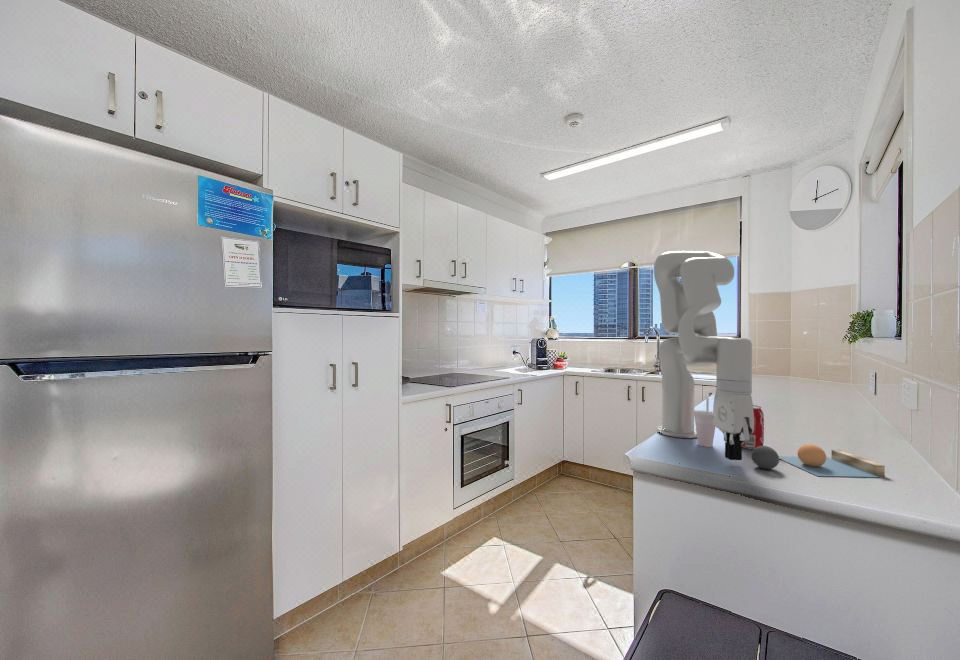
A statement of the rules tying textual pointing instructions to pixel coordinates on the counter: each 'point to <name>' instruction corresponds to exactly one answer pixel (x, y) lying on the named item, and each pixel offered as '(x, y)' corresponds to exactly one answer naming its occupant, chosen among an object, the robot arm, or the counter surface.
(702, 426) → the smoothie
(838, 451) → the stopper rail
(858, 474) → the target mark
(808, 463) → the orange ball
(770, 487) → the counter surface
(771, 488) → the counter surface
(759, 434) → the soda can
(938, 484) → the counter surface
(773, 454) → the gray ball
